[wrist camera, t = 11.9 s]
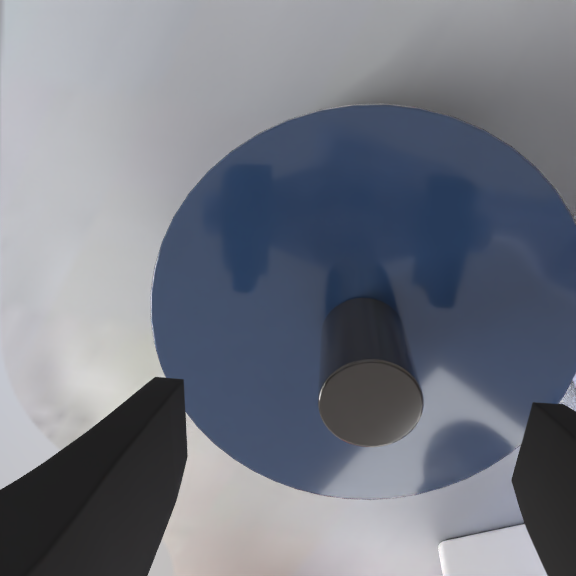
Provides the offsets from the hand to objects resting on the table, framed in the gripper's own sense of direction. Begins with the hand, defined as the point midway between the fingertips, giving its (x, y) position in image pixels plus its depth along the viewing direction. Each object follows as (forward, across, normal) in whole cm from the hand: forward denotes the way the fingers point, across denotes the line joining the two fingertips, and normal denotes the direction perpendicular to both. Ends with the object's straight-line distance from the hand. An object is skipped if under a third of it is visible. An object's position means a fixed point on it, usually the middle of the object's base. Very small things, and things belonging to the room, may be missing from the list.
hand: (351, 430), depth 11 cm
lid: (+5, -1, 0) cm, 5 cm away
